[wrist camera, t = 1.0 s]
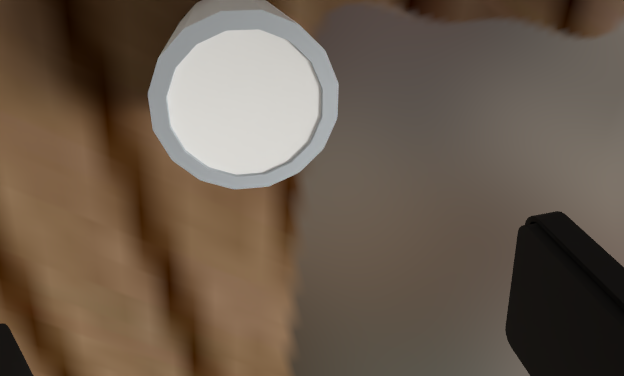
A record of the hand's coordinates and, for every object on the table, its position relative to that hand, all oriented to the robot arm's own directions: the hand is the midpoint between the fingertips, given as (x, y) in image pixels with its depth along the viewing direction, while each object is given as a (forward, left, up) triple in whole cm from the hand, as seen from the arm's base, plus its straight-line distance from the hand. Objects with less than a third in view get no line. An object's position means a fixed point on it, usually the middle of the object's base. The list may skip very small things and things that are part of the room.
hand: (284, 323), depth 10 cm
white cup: (0, 0, -18) cm, 18 cm away
